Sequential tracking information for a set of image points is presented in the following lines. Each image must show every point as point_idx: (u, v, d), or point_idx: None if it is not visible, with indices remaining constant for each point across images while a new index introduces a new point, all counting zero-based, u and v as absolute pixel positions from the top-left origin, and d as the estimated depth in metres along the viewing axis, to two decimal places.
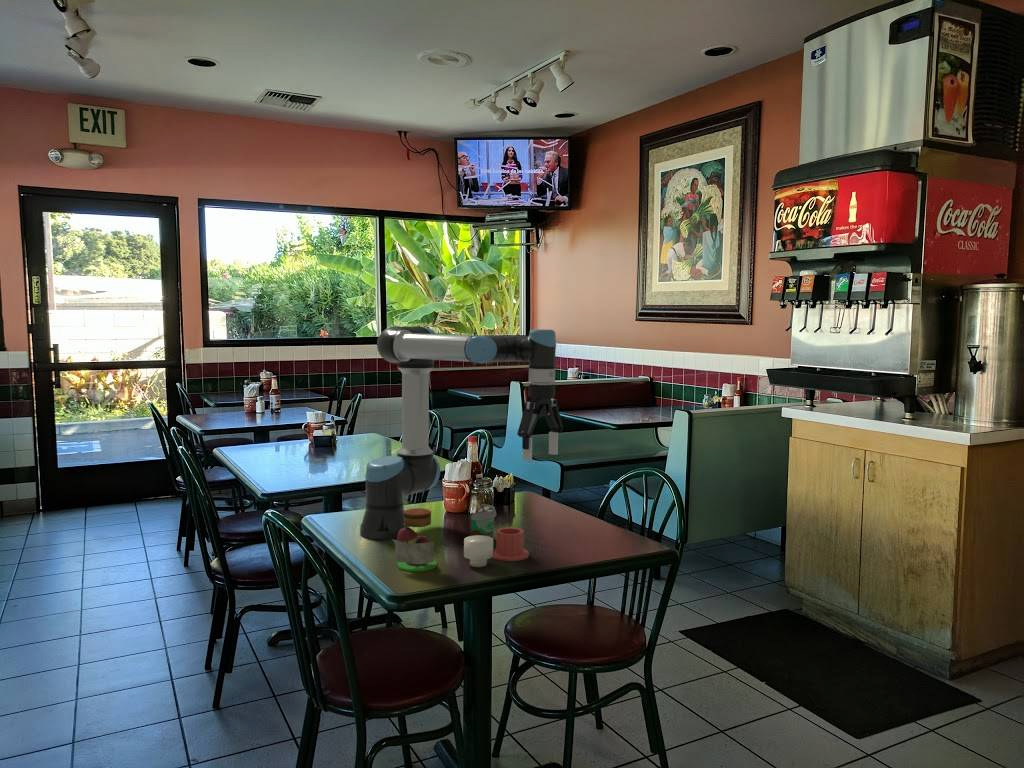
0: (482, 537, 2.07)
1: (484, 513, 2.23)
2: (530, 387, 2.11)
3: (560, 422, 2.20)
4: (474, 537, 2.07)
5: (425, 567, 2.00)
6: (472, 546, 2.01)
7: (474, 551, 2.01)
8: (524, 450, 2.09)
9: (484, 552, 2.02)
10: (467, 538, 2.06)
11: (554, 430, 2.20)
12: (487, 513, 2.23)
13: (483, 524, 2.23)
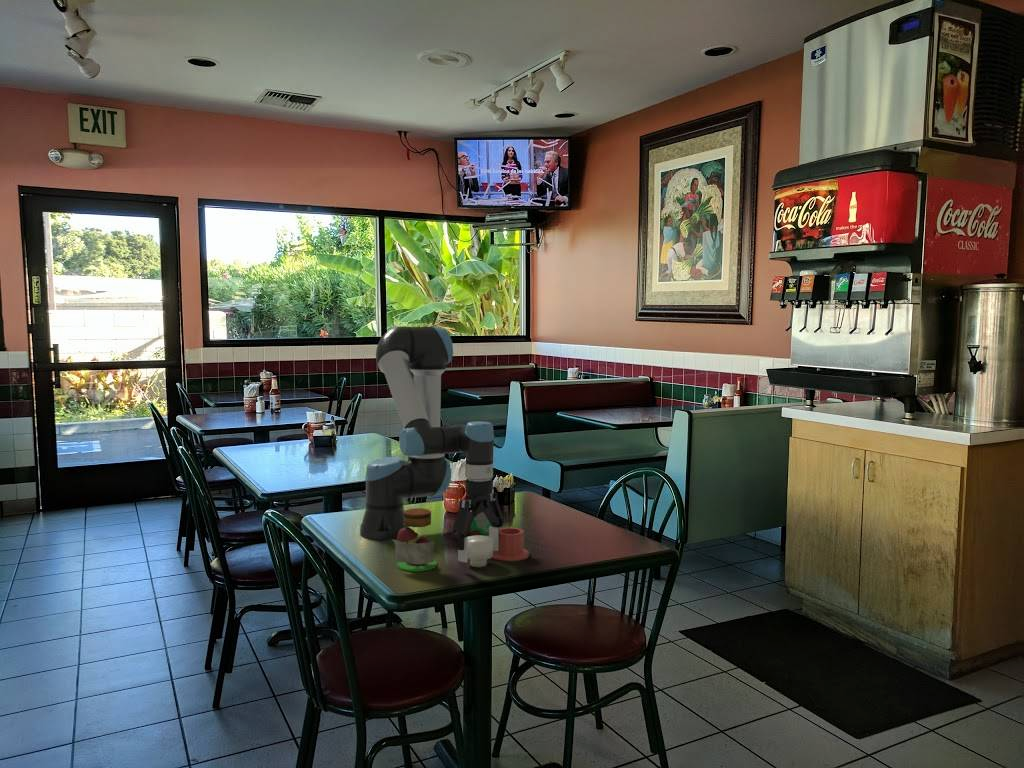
0: (482, 537, 2.07)
1: None
2: (466, 483, 2.02)
3: (501, 516, 2.11)
4: (474, 537, 2.07)
5: (425, 567, 2.00)
6: (472, 546, 2.01)
7: (474, 551, 2.01)
8: (459, 550, 1.99)
9: (484, 552, 2.02)
10: None
11: (494, 525, 2.10)
12: None
13: (483, 524, 2.23)
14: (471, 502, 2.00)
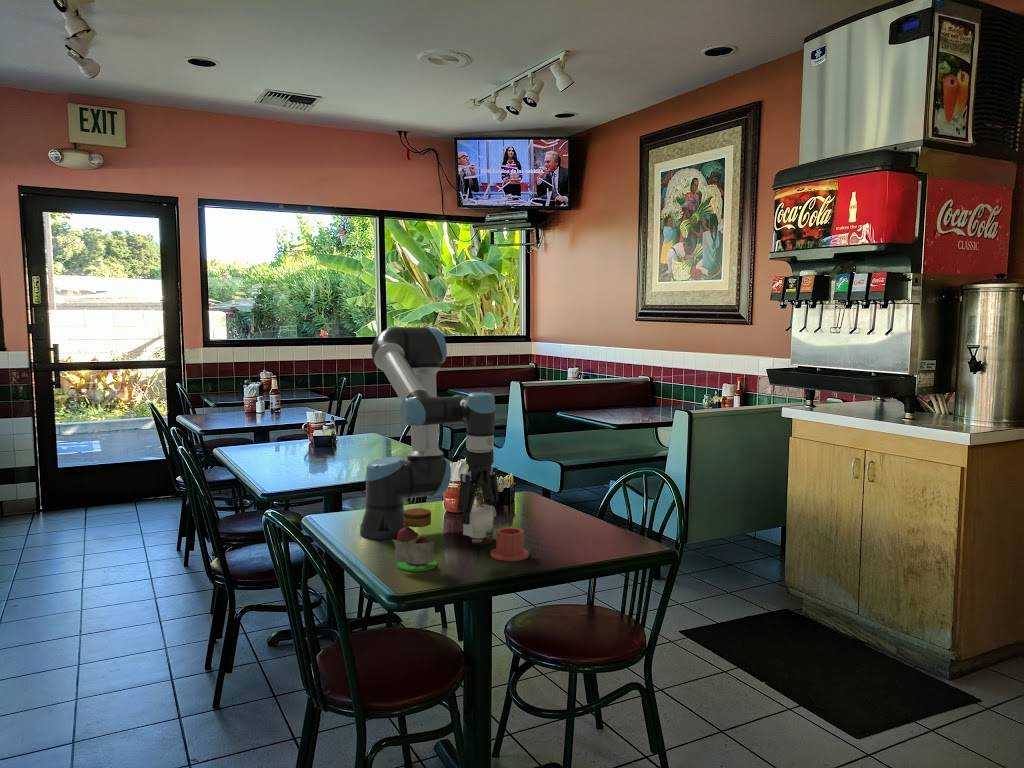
0: (482, 509, 2.07)
1: None
2: (467, 454, 2.01)
3: (496, 493, 2.09)
4: (474, 508, 2.07)
5: (425, 567, 2.00)
6: None
7: (473, 523, 2.01)
8: (464, 524, 2.02)
9: (483, 523, 2.01)
10: None
11: (488, 502, 2.08)
12: None
13: None
14: (471, 473, 2.00)
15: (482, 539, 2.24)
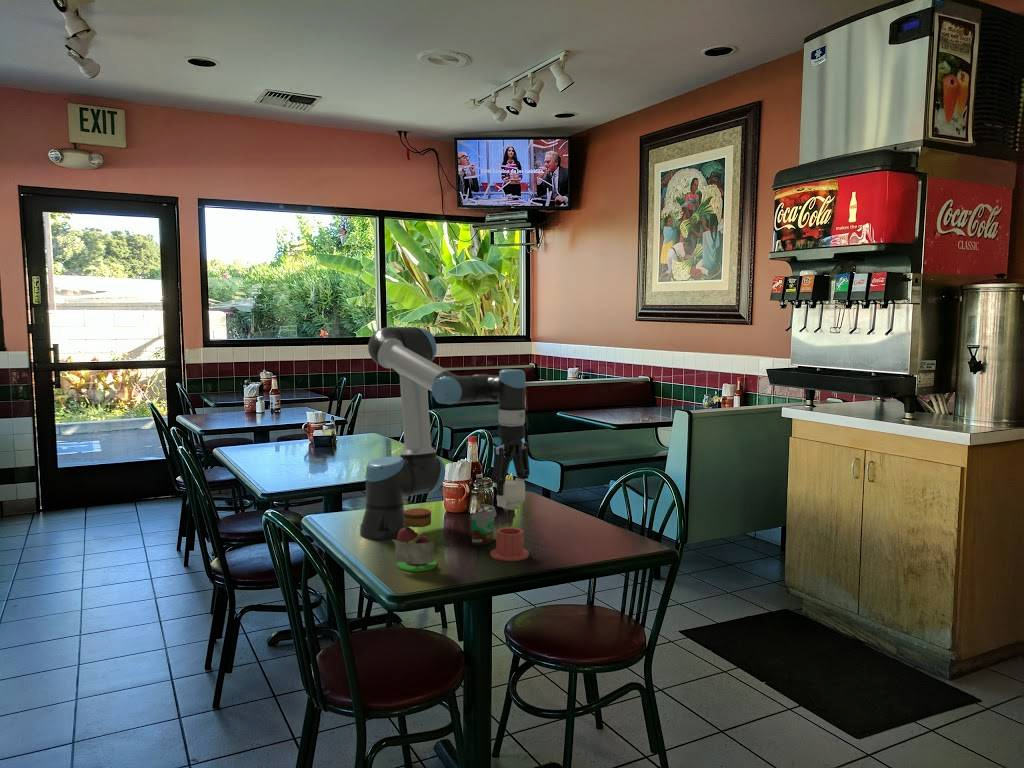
0: (514, 482, 2.14)
1: (484, 513, 2.23)
2: (500, 428, 2.09)
3: (527, 467, 2.17)
4: (506, 482, 2.14)
5: (425, 567, 2.00)
6: None
7: (507, 494, 2.09)
8: (498, 496, 2.09)
9: (517, 494, 2.09)
10: None
11: (520, 476, 2.16)
12: (487, 513, 2.23)
13: (483, 524, 2.23)
14: (504, 446, 2.08)
15: (482, 539, 2.24)
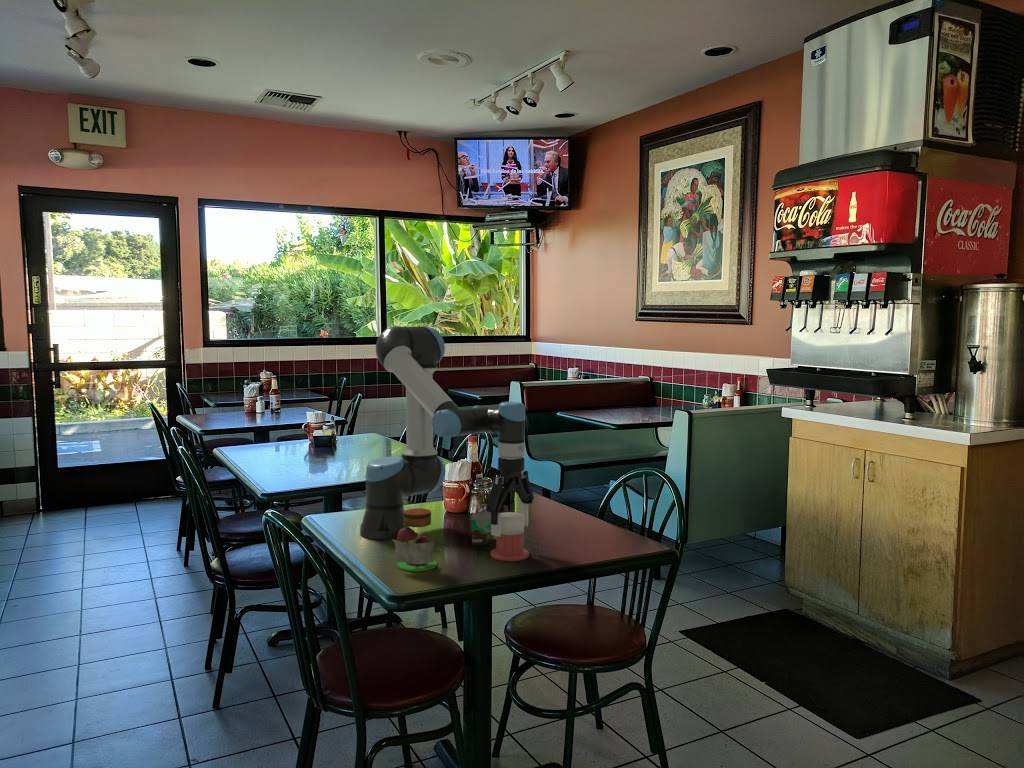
0: (513, 514, 2.15)
1: (484, 513, 2.23)
2: (499, 461, 2.10)
3: (531, 493, 2.19)
4: (505, 514, 2.15)
5: (425, 567, 2.00)
6: (504, 522, 2.10)
7: (506, 527, 2.10)
8: (492, 525, 2.08)
9: (516, 527, 2.10)
10: None
11: (525, 501, 2.19)
12: (487, 513, 2.23)
13: (483, 524, 2.23)
14: (504, 479, 2.09)
15: (482, 539, 2.24)
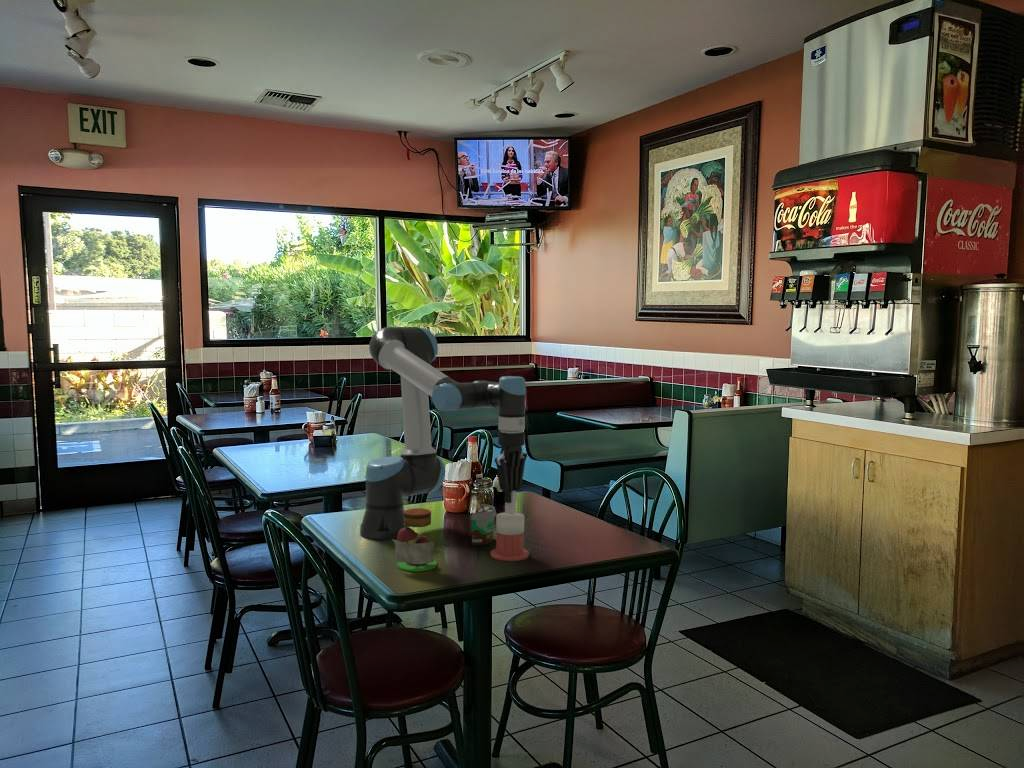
0: (513, 514, 2.15)
1: (484, 513, 2.23)
2: (499, 435, 2.10)
3: (521, 478, 2.15)
4: (505, 514, 2.15)
5: (425, 567, 2.00)
6: (504, 522, 2.10)
7: (506, 527, 2.10)
8: (506, 503, 2.13)
9: (516, 527, 2.10)
10: (499, 514, 2.14)
11: (512, 487, 2.13)
12: (487, 513, 2.23)
13: (483, 524, 2.23)
14: (504, 453, 2.08)
15: (482, 539, 2.24)
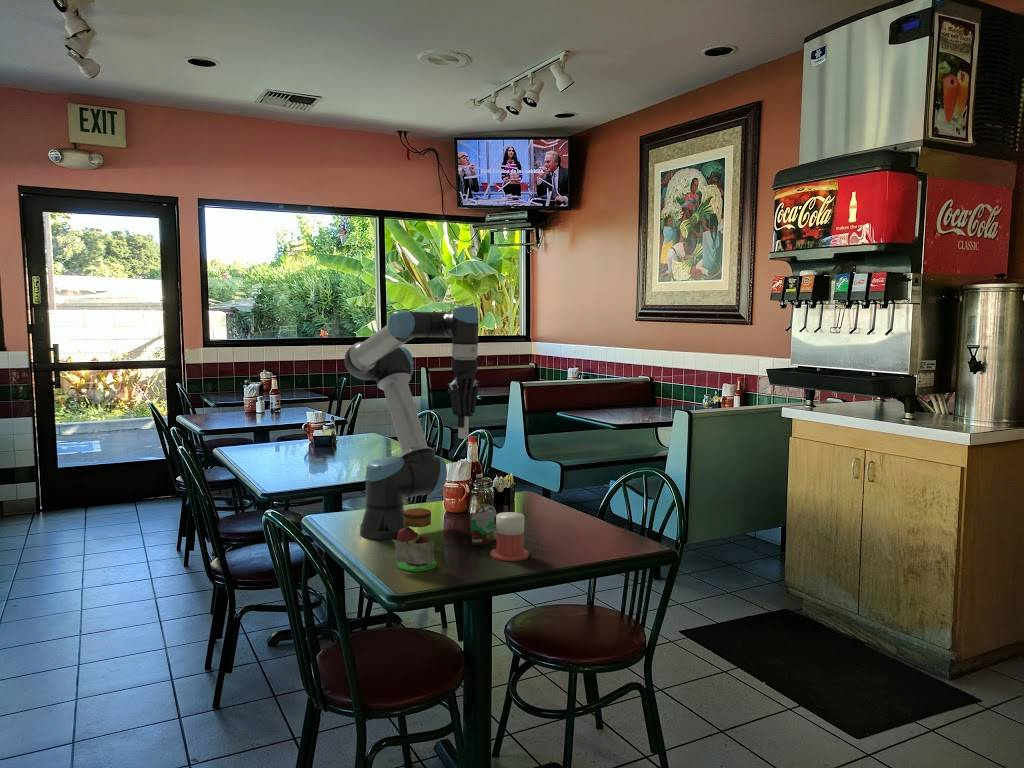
0: (513, 514, 2.15)
1: (484, 513, 2.23)
2: (453, 362, 2.18)
3: (474, 405, 2.23)
4: (505, 514, 2.15)
5: (425, 567, 2.00)
6: (504, 522, 2.10)
7: (506, 527, 2.10)
8: (459, 428, 2.22)
9: (516, 527, 2.10)
10: (499, 514, 2.14)
11: (465, 413, 2.22)
12: (487, 513, 2.23)
13: (483, 524, 2.23)
14: (457, 379, 2.17)
15: (482, 539, 2.24)
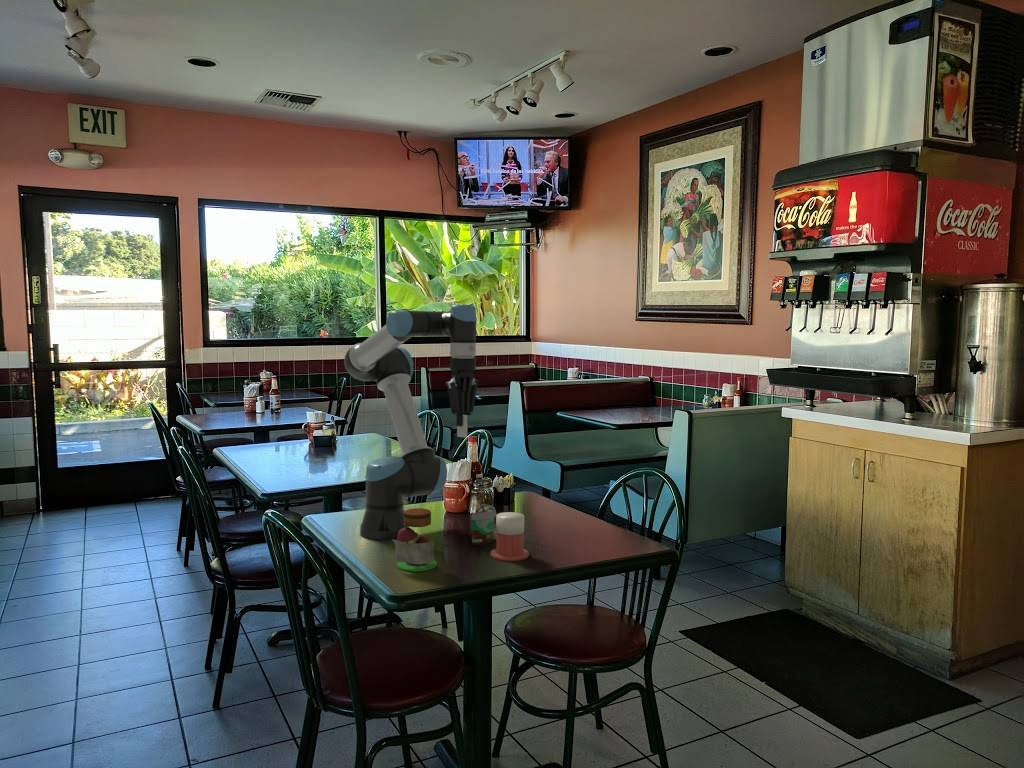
0: (513, 514, 2.15)
1: (484, 513, 2.23)
2: (451, 360, 2.18)
3: (472, 404, 2.23)
4: (505, 514, 2.15)
5: (425, 567, 2.00)
6: (504, 522, 2.10)
7: (506, 527, 2.10)
8: (458, 427, 2.22)
9: (516, 527, 2.10)
10: (499, 514, 2.14)
11: (464, 411, 2.22)
12: (487, 513, 2.23)
13: (483, 524, 2.23)
14: (455, 377, 2.17)
15: (482, 539, 2.24)
